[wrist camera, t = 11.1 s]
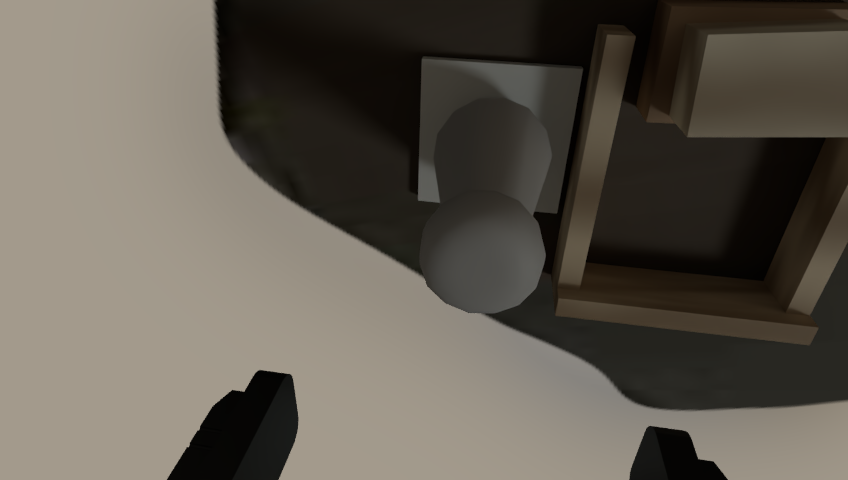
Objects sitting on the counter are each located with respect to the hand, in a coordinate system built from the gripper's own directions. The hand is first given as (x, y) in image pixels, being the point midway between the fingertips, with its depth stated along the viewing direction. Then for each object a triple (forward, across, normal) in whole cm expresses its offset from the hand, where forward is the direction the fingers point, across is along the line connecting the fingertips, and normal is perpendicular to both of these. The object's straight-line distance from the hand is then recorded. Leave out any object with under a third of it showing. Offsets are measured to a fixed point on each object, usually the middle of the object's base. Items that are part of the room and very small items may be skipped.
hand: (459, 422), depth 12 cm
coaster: (+20, 0, 0) cm, 20 cm away
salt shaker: (+19, 0, 0) cm, 19 cm away
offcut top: (+17, -11, -4) cm, 21 cm away
